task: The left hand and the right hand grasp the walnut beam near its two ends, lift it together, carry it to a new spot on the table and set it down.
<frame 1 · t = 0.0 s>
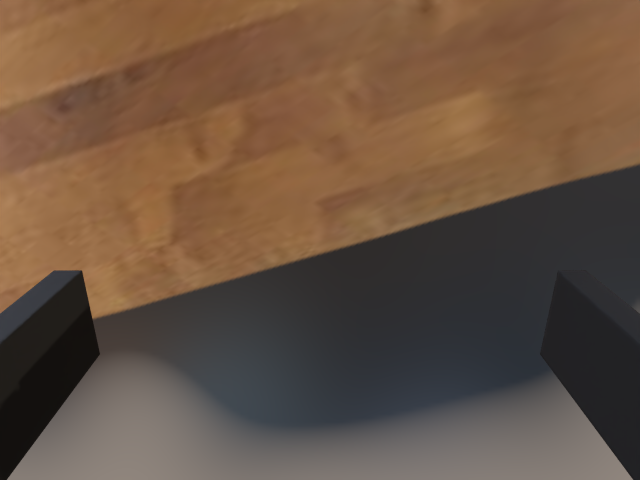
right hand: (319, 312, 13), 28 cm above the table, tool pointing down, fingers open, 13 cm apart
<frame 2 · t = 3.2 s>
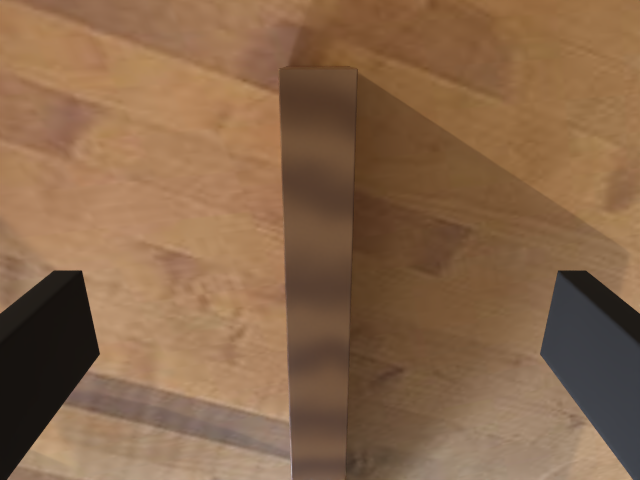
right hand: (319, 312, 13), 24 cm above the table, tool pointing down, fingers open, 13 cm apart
beam: (318, 360, 43), on the table
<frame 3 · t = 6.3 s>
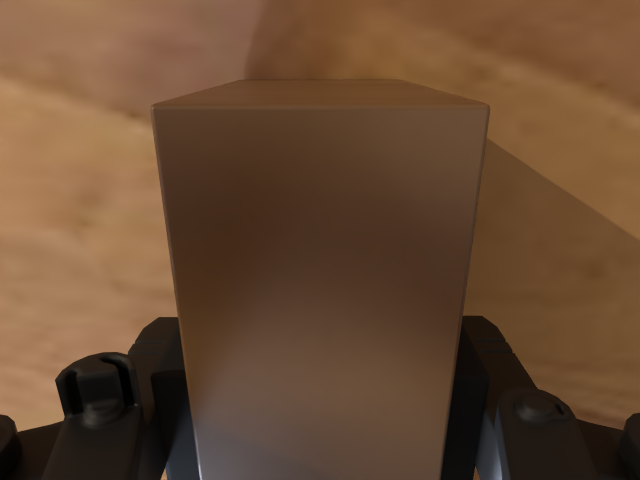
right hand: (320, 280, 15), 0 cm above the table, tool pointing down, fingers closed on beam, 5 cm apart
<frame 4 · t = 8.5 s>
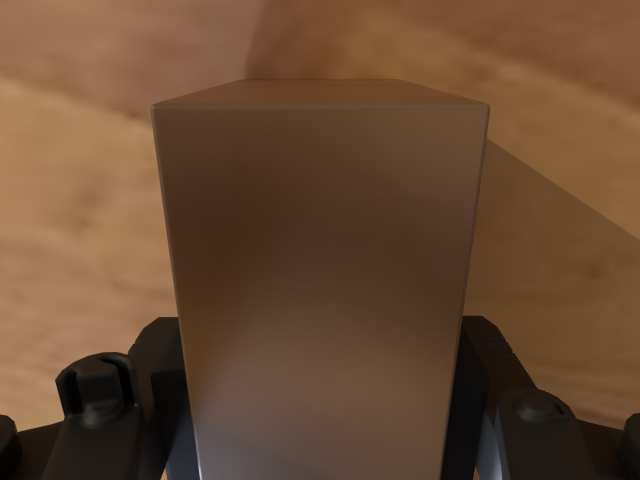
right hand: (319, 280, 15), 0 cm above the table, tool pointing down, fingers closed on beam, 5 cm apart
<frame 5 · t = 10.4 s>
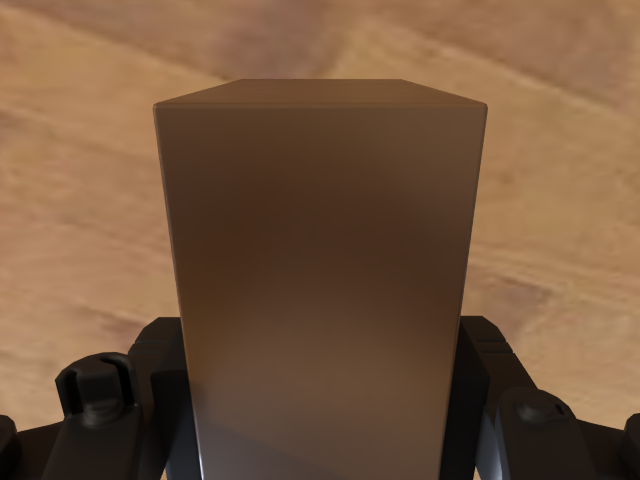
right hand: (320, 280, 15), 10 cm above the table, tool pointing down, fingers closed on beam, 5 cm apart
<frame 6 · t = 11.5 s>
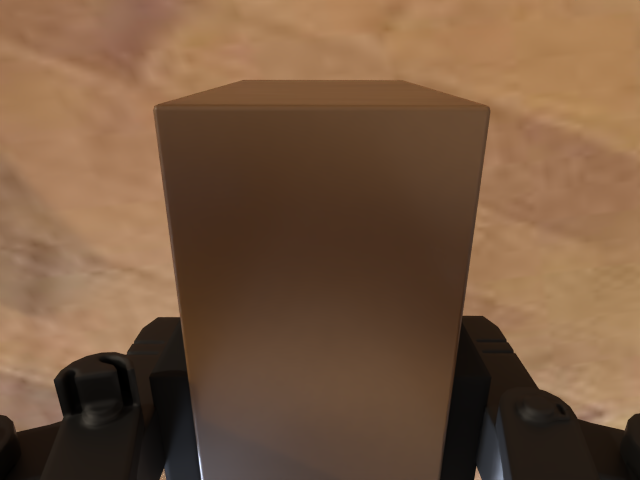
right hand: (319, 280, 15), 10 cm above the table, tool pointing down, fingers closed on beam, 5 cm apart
when the right hand's fingers open (2 cm above the table, at t = 14.5 s): beam drops 1 cm, on the table.
when the left hand's fingers open (3 cm above the table, at t = 14.7 s): beam stays where it is, on the table.
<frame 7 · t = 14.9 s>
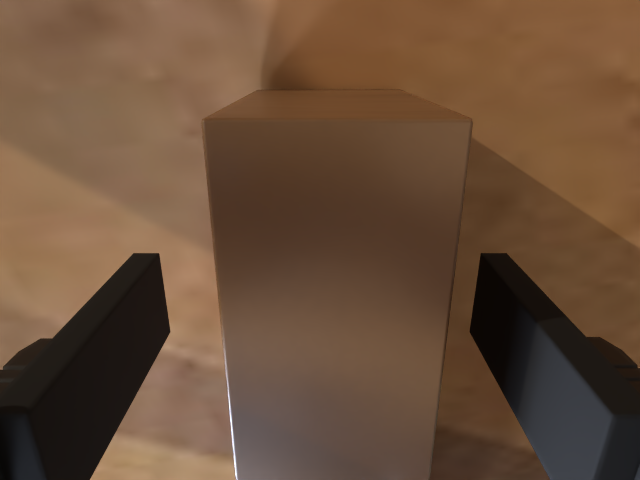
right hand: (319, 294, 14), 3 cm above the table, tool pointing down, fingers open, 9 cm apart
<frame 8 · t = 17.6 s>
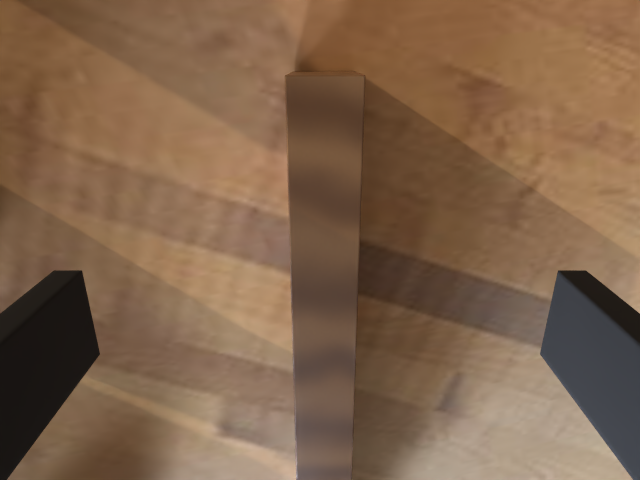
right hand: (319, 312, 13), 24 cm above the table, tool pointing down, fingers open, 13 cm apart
beam: (323, 366, 43), on the table
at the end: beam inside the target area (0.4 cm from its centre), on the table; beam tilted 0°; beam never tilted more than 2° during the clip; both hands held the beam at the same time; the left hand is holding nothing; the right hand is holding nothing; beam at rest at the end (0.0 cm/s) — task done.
